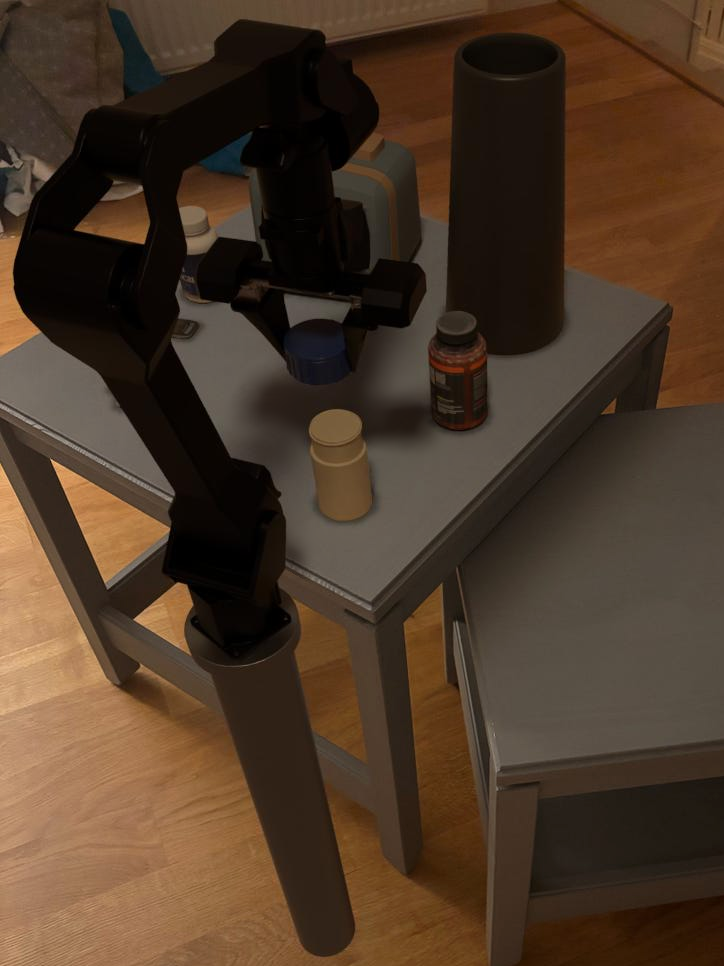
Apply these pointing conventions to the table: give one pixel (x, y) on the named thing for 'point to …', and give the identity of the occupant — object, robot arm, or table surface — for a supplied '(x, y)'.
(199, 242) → the pill bottle
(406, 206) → the alarm clock
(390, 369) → the table surface
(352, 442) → the jar
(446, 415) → the supplement bottle
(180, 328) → the strap clip
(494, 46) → the vase
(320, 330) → the jar lid
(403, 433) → the table surface
